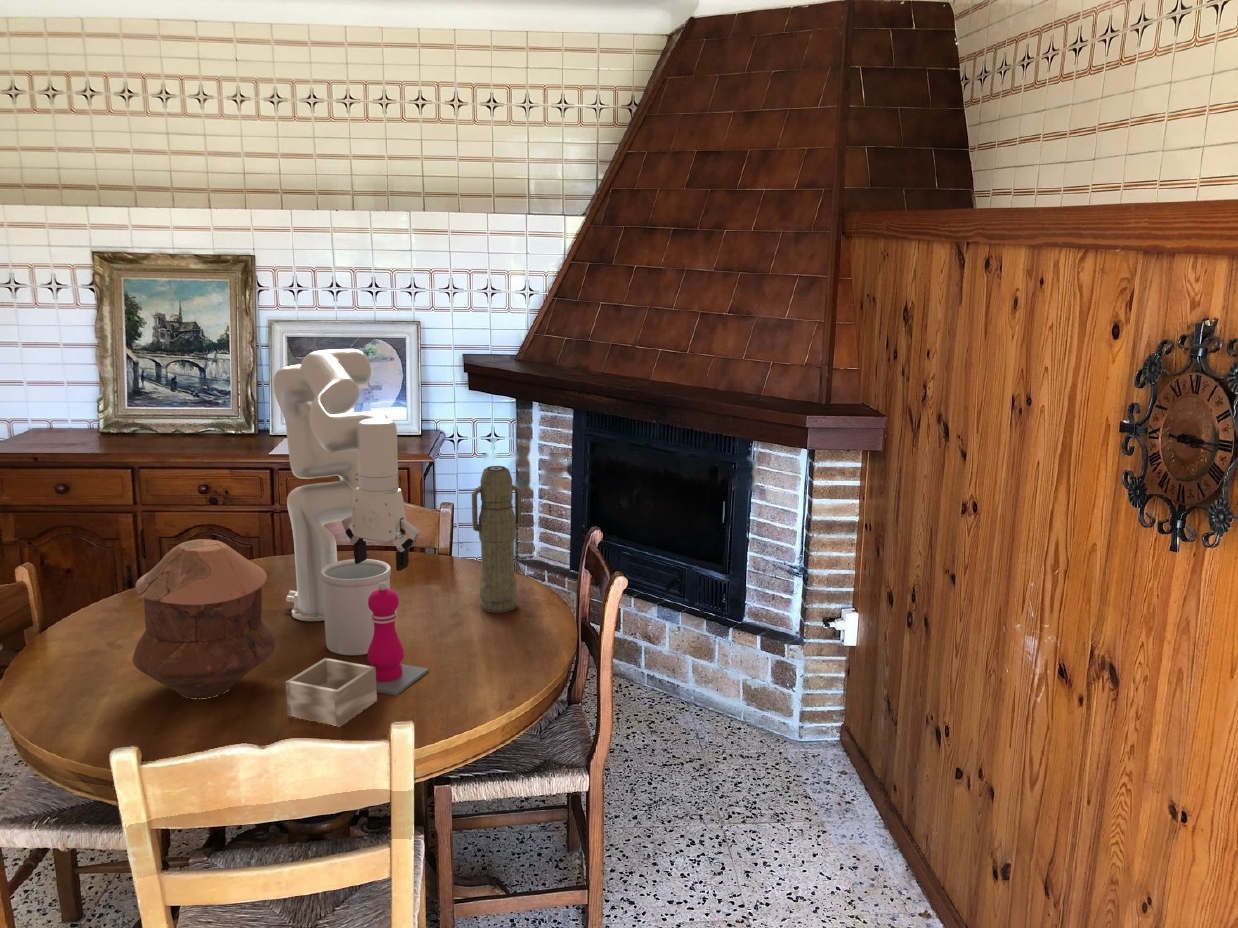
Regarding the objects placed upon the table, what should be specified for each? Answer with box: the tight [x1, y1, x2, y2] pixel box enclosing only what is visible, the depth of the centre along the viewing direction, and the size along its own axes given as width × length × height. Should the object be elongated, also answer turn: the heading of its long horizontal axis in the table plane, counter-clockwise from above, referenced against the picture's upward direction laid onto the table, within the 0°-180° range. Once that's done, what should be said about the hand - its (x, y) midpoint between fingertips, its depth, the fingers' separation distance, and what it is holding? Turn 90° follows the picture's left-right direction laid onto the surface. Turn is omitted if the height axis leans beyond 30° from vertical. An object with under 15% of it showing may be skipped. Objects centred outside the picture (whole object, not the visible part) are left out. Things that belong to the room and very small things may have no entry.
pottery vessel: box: [132, 538, 276, 699], centre depth 184 cm, size 26×26×30 cm
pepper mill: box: [367, 582, 405, 682], centre depth 191 cm, size 7×7×20 cm
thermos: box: [471, 465, 522, 614], centre depth 230 cm, size 9×12×35 cm
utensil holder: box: [321, 558, 392, 656], centre depth 209 cm, size 15×15×18 cm
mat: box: [370, 663, 429, 696], centre depth 193 cm, size 12×12×1 cm
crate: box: [285, 657, 378, 728], centre depth 179 cm, size 12×12×7 cm
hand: (381, 565), depth 188 cm, fingers open, 9 cm apart
